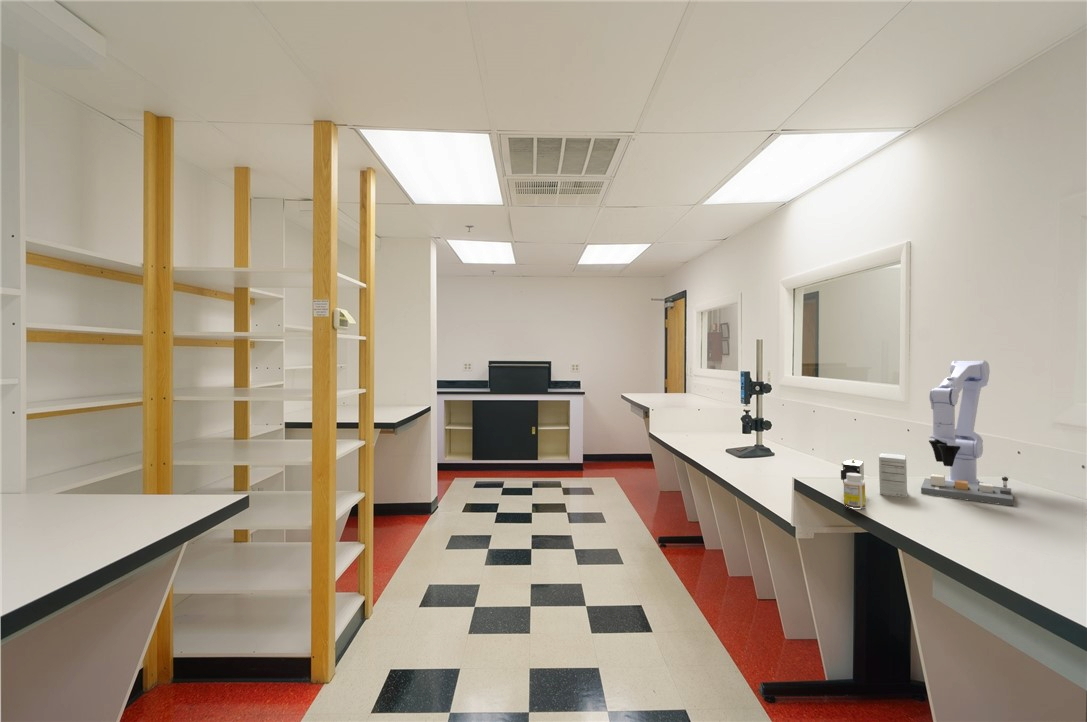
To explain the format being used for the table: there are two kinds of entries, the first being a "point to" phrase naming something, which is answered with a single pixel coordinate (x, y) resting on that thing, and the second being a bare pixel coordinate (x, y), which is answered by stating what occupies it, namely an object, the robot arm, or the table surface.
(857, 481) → the supplement bottle
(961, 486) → the orange button
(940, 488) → the control panel
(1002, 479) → the toggle lever
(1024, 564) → the table surface
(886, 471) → the supplement box
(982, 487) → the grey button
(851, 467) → the pneumatic valve
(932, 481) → the block
